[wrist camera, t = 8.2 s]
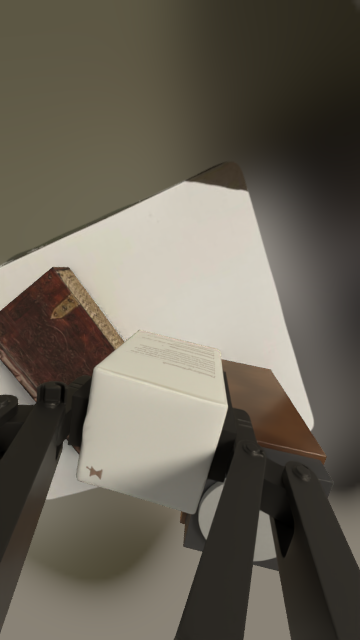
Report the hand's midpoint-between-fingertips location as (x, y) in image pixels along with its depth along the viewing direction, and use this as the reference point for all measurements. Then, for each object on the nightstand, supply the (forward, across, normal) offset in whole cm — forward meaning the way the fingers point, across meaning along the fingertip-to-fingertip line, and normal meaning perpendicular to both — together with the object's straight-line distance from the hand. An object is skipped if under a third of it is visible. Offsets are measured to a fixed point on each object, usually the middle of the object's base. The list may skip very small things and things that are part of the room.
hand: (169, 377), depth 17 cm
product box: (+1, 0, 0) cm, 1 cm away
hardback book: (+25, -18, -13) cm, 33 cm away
